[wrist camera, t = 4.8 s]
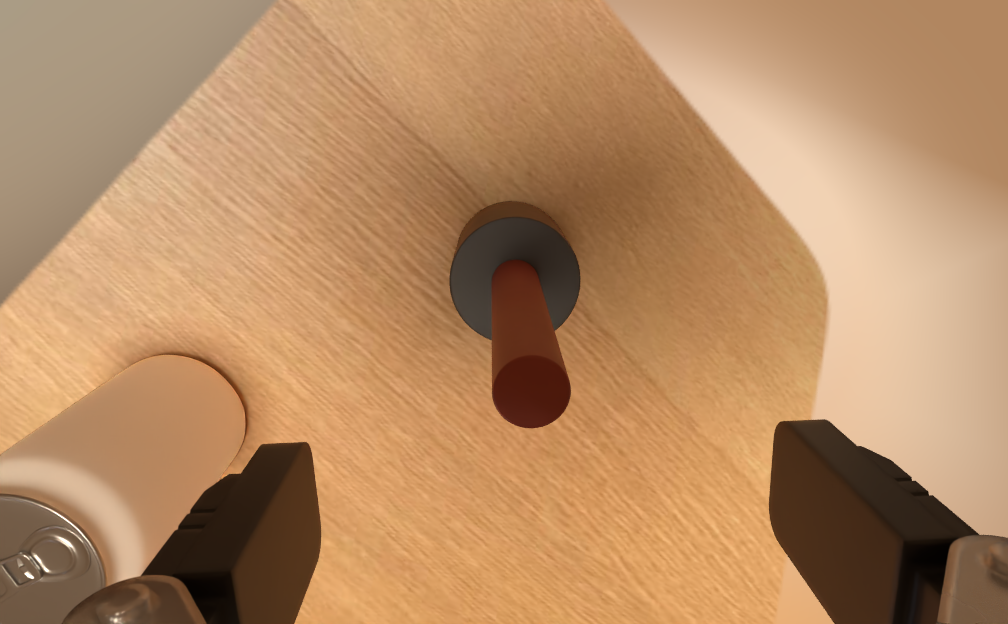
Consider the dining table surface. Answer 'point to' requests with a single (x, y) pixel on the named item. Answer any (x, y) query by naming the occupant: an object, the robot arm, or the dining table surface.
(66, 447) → the can
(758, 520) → the dining table surface
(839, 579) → the robot arm
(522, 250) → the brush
